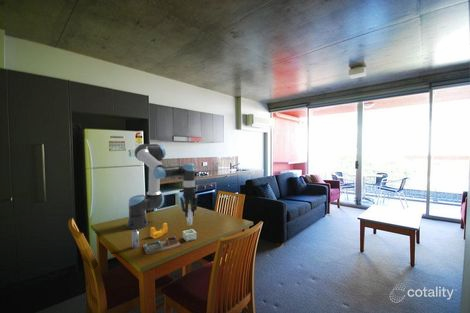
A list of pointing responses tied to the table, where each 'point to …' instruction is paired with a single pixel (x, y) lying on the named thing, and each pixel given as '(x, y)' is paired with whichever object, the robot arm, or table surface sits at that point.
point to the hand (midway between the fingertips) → (189, 221)
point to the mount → (161, 245)
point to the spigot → (135, 238)
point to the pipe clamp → (159, 233)
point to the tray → (189, 235)
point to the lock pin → (190, 217)
